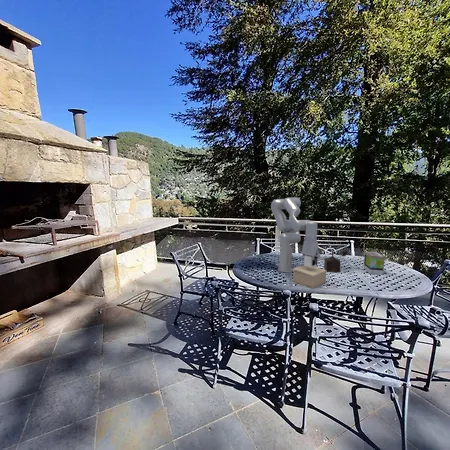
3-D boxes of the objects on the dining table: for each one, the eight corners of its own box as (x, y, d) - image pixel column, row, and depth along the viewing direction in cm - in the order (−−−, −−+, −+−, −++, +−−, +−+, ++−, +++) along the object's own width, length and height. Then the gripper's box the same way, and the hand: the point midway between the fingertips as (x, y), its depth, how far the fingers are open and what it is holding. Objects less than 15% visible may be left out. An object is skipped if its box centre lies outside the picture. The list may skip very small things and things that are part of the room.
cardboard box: (293, 281, 179) (293, 271, 178) (305, 276, 189) (306, 266, 188) (313, 288, 167) (313, 276, 166) (325, 282, 177) (326, 271, 176)
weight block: (304, 265, 176) (304, 256, 175) (309, 263, 180) (309, 254, 179) (310, 267, 172) (310, 257, 171) (315, 265, 177) (316, 255, 176)
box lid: (292, 269, 178) (292, 268, 178) (305, 265, 188) (306, 264, 188) (313, 276, 165) (313, 275, 165) (326, 271, 176) (326, 270, 176)
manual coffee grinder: (326, 272, 200) (327, 250, 198) (323, 268, 211) (324, 247, 208) (347, 273, 198) (348, 251, 195) (343, 268, 208) (344, 247, 206)
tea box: (383, 274, 193) (385, 256, 191) (369, 274, 195) (371, 255, 193) (376, 269, 208) (377, 251, 206) (363, 268, 210) (364, 251, 208)
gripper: (297, 238, 178) (296, 262, 180) (319, 241, 165) (318, 268, 167) (303, 236, 183) (302, 260, 185) (325, 240, 170) (324, 266, 172)
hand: (310, 264), depth 176 cm, fingers closed on weight block, 5 cm apart
